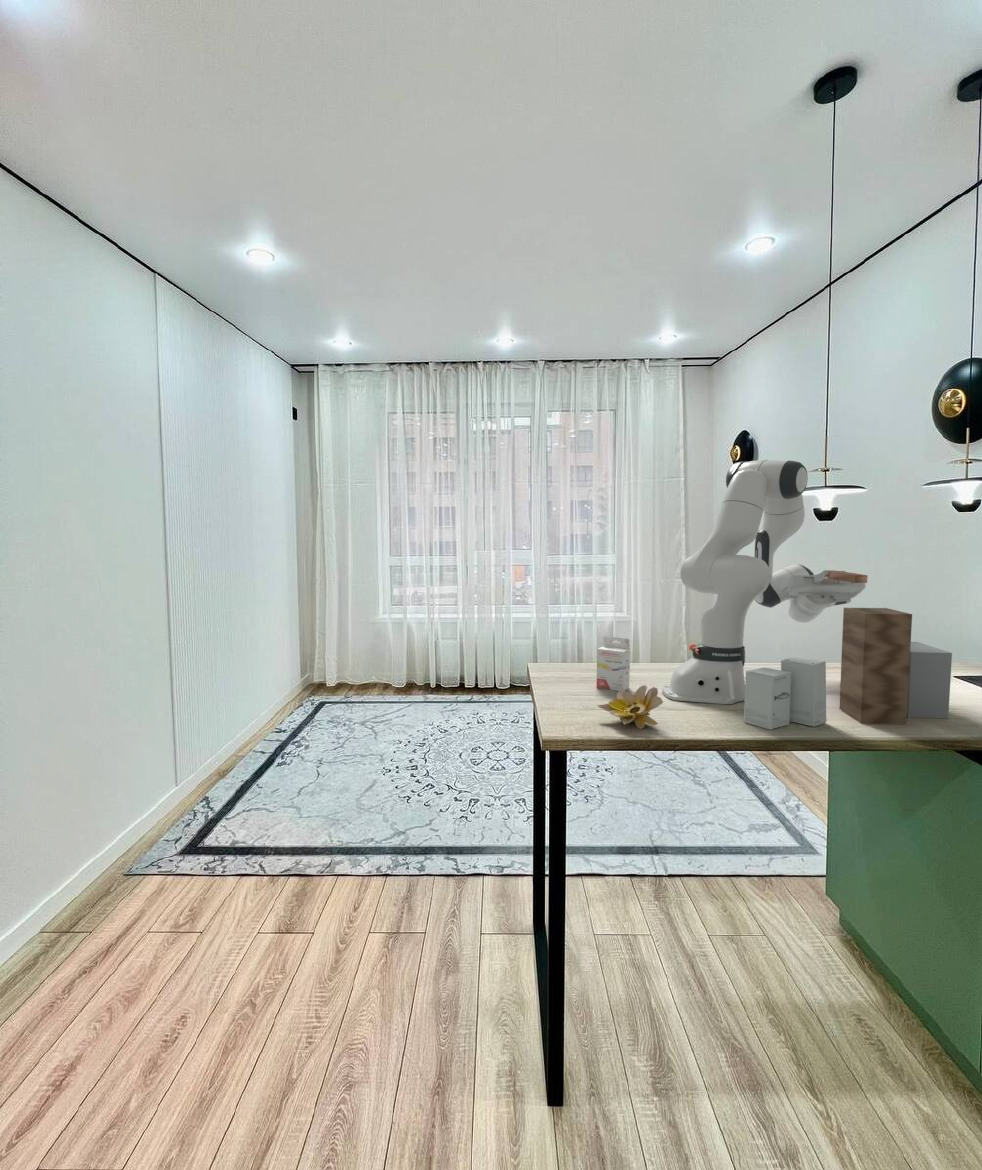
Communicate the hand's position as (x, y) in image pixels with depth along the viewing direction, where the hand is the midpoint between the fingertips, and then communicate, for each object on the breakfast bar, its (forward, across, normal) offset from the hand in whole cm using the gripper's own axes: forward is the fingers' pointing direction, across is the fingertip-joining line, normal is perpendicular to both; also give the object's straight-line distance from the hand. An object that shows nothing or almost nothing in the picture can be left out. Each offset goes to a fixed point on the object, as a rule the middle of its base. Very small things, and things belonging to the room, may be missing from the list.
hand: (834, 573), depth 175 cm
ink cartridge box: (-13, -61, +32) cm, 70 cm away
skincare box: (+11, -18, +45) cm, 50 cm away
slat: (+5, 0, +4) cm, 6 cm away
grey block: (-1, +13, +38) cm, 40 cm away
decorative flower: (+16, -59, +48) cm, 78 cm away
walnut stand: (+6, 0, +42) cm, 42 cm away
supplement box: (+14, -27, +47) cm, 56 cm away
